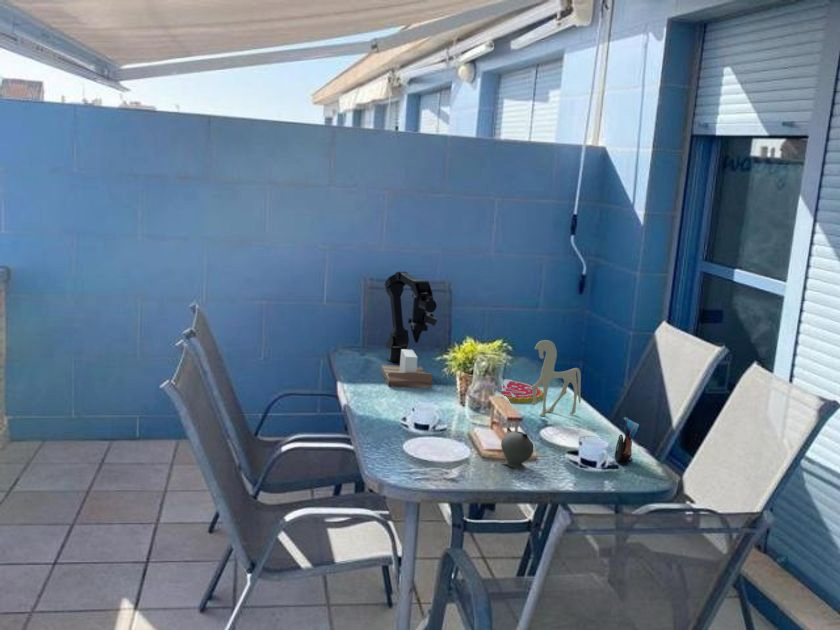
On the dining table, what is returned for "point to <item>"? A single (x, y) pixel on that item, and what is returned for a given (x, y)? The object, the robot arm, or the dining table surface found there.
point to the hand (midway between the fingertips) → (416, 342)
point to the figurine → (626, 443)
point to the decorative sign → (519, 392)
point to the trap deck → (406, 377)
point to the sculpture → (554, 376)
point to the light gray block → (408, 361)
